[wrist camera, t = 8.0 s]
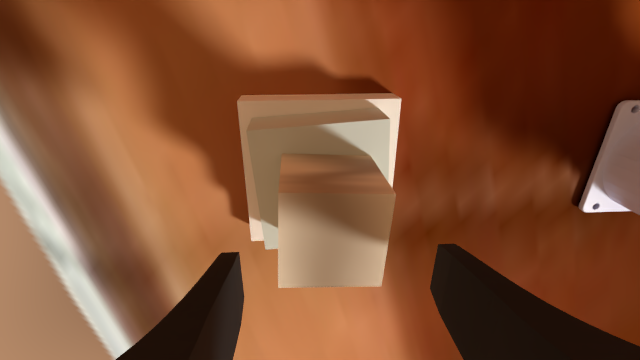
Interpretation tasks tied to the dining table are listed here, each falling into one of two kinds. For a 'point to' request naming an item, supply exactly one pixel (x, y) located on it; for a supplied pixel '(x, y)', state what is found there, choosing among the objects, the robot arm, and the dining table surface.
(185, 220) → the dining table surface
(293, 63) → the dining table surface
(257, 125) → the top slab
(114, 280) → the dining table surface
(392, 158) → the bottom slab
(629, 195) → the robot arm
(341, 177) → the birch block
